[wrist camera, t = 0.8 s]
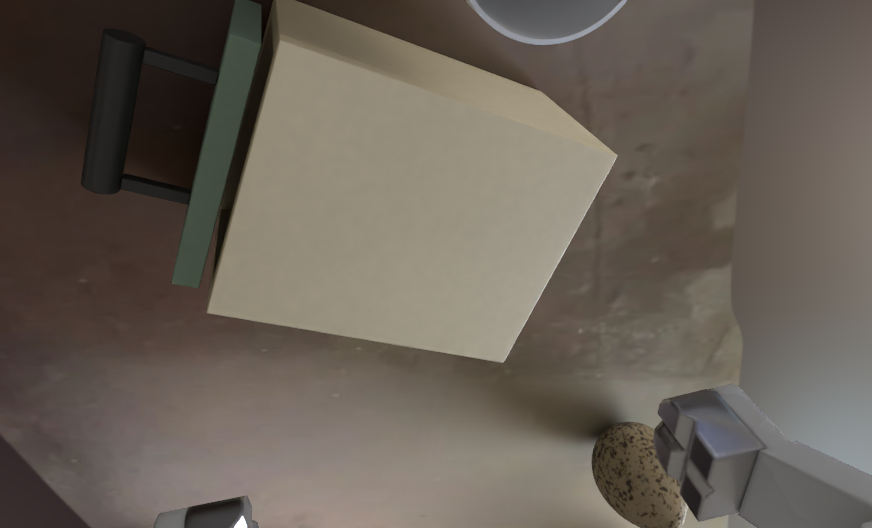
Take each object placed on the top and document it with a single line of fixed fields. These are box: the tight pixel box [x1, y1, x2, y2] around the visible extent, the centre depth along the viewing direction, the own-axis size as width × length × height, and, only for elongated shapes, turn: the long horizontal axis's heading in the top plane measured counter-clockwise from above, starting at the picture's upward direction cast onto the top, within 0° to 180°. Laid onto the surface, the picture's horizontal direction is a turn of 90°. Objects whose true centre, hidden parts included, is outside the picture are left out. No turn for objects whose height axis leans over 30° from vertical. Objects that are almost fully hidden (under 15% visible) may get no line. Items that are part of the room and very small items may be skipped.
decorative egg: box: [592, 422, 688, 528], centre depth 52 cm, size 7×7×10 cm
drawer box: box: [206, 0, 617, 363], centre depth 33 cm, size 16×13×10 cm
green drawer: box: [81, 0, 261, 288], centre depth 31 cm, size 19×12×8 cm, turn 68°
